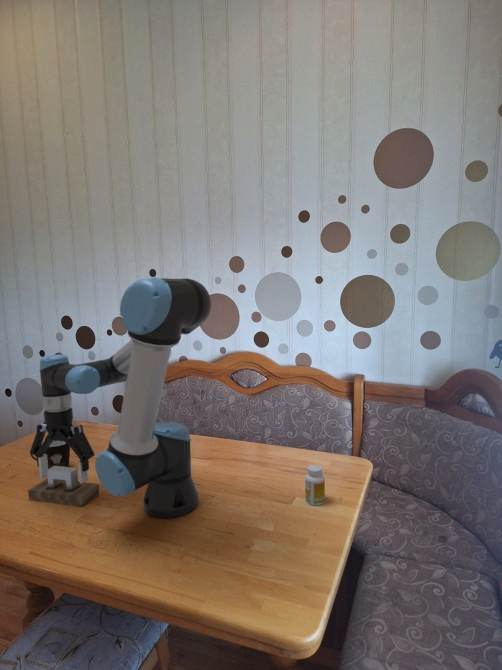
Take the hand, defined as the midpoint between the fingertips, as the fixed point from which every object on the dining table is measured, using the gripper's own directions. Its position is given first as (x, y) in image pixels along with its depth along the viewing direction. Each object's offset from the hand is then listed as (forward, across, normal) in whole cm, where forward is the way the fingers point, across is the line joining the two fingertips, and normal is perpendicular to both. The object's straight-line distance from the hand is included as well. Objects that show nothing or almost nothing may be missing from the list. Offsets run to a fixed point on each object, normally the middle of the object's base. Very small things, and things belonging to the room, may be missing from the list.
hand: (63, 479), depth 124 cm
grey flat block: (+5, 0, 0) cm, 5 cm away
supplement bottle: (+7, +72, +14) cm, 73 cm away
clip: (+5, 0, 0) cm, 5 cm away
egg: (+5, -31, +42) cm, 53 cm away
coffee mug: (+5, -16, +15) cm, 23 cm away
